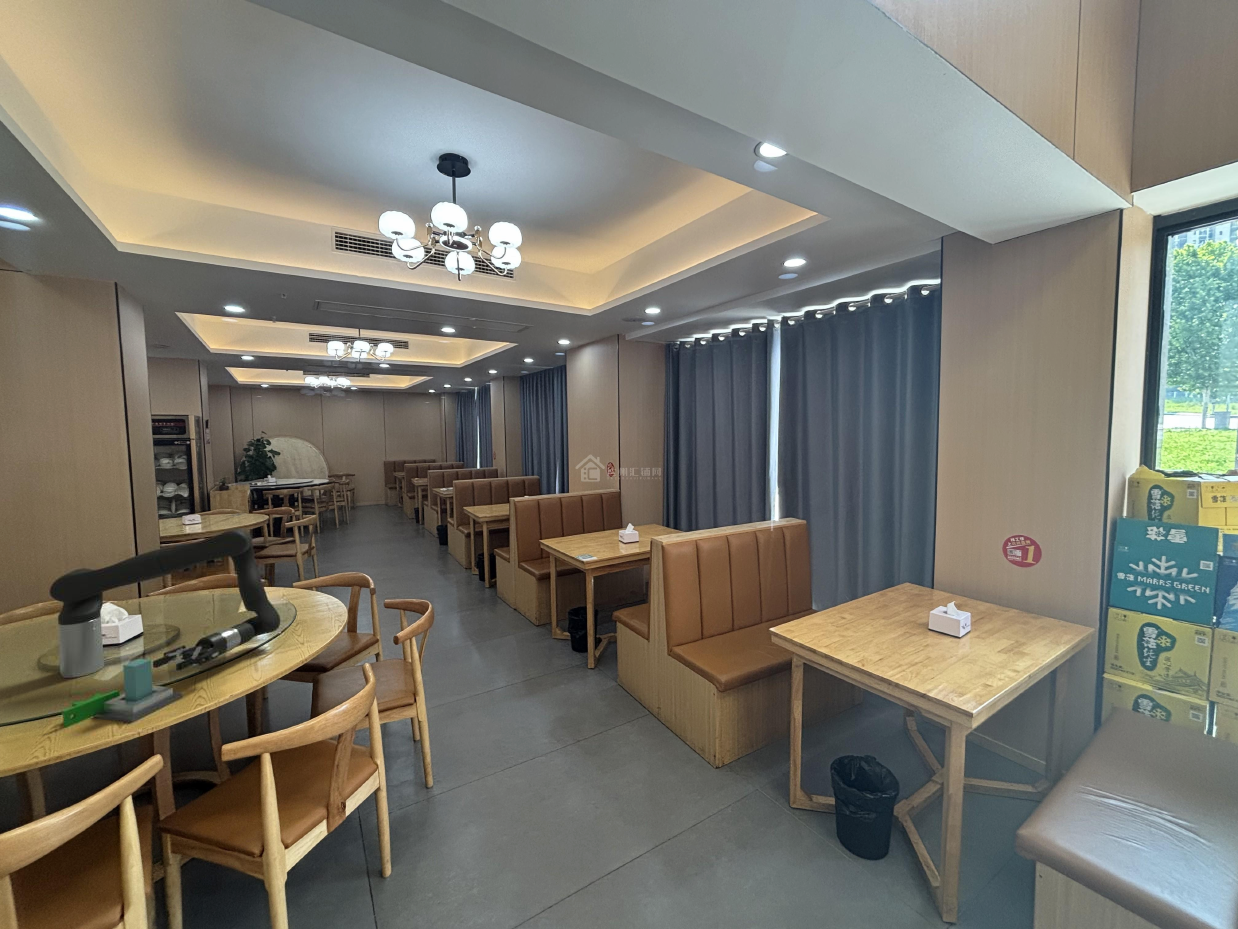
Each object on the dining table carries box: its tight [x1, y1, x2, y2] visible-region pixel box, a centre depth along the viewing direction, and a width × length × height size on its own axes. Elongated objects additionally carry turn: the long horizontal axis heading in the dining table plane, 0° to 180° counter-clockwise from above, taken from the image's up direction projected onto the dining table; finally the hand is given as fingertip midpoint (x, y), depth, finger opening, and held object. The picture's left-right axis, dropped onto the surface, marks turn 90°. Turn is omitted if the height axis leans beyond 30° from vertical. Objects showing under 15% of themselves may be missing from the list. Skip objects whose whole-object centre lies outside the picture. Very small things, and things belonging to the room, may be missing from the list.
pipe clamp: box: [62, 689, 121, 728], centre depth 135 cm, size 11×4×5 cm, turn 161°
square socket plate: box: [92, 684, 184, 724], centre depth 139 cm, size 13×13×4 cm
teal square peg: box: [123, 658, 153, 702], centre depth 138 cm, size 4×4×12 cm
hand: (165, 666), depth 145 cm, fingers open, 8 cm apart
